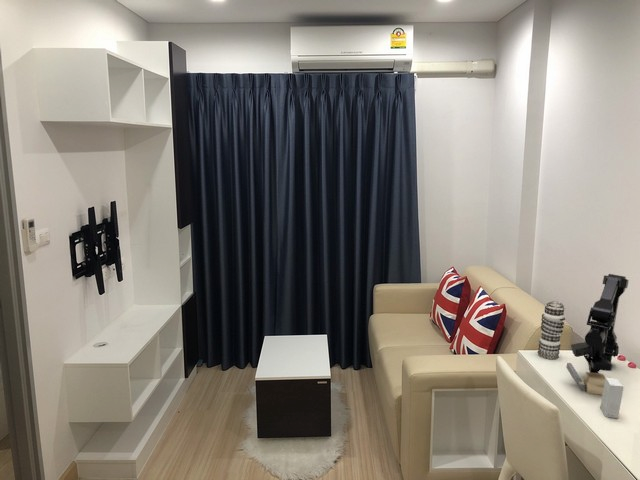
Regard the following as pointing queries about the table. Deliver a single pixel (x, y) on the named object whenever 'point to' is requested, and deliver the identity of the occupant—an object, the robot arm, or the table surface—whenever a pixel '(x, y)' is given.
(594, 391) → the block
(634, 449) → the table surface
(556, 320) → the banded tower model
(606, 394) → the skincare box
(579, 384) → the chute
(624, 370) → the table surface
